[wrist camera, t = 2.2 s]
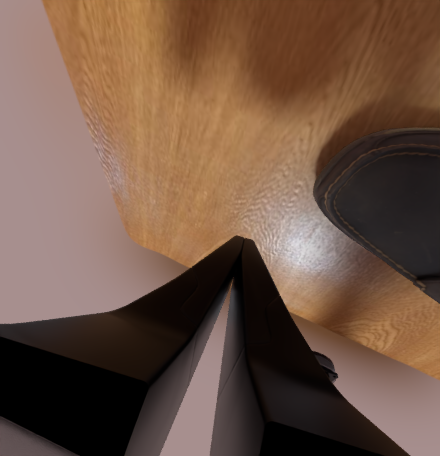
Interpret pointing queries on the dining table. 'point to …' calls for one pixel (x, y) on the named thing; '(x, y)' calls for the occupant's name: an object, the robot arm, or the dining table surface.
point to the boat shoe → (389, 200)
